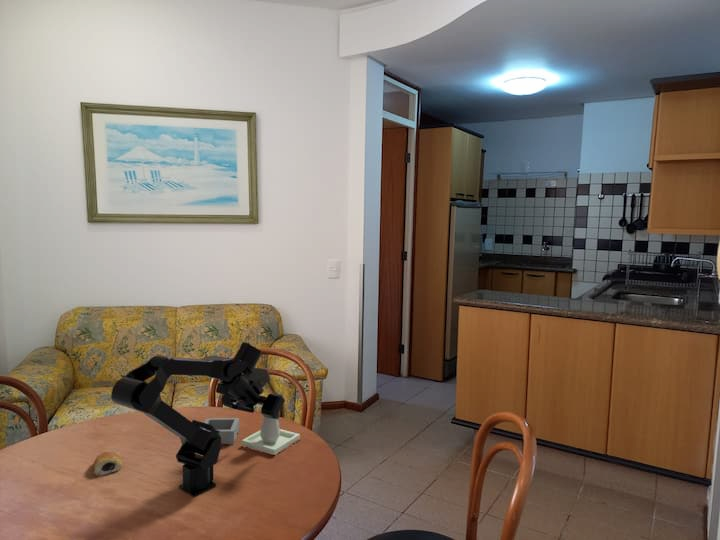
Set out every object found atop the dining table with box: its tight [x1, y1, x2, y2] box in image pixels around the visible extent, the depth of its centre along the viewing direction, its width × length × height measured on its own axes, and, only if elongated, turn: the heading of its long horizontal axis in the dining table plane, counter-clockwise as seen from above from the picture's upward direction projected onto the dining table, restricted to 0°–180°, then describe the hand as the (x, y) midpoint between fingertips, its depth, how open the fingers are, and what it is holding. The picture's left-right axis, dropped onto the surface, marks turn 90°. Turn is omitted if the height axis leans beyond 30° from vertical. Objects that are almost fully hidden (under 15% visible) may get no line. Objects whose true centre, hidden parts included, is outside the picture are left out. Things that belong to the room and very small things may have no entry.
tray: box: [241, 428, 301, 455], centre depth 143 cm, size 12×12×2 cm
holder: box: [203, 417, 240, 445], centre depth 146 cm, size 10×10×4 cm
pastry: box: [93, 451, 124, 476], centre depth 128 cm, size 9×7×4 cm
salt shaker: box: [260, 415, 281, 444], centre depth 142 cm, size 6×6×13 cm
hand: (265, 414), depth 140 cm, fingers open, 9 cm apart
